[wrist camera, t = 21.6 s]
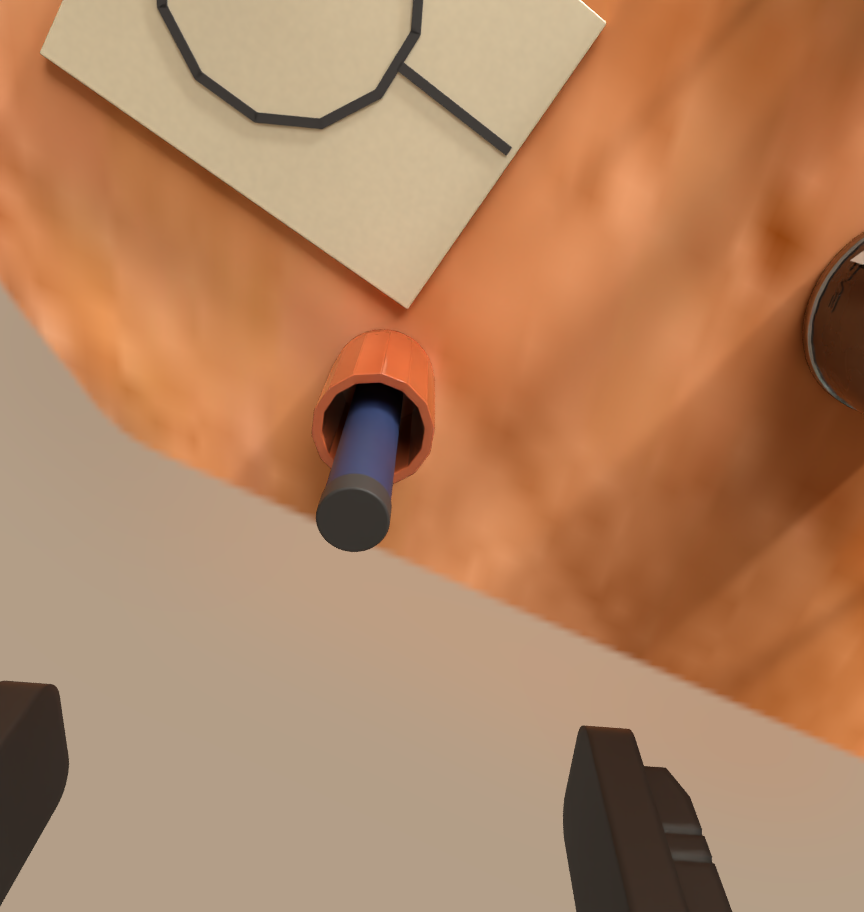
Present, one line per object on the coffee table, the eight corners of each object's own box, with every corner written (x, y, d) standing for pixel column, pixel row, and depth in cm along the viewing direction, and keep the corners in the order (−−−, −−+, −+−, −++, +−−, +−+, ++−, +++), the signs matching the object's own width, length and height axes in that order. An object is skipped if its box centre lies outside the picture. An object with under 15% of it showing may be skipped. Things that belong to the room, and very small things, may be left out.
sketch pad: (604, 24, 30) (608, 22, 30) (407, 307, 35) (407, 310, 34) (209, -316, 26) (204, -327, 26) (45, 54, 31) (37, 53, 30)
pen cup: (453, 365, 36) (457, 417, 30) (396, 442, 38) (388, 507, 31) (370, 307, 35) (355, 348, 29) (314, 390, 37) (289, 446, 30)
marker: (414, 378, 36) (404, 513, 23) (387, 415, 37) (363, 565, 24) (374, 351, 35) (341, 473, 23) (347, 389, 36) (301, 528, 24)
